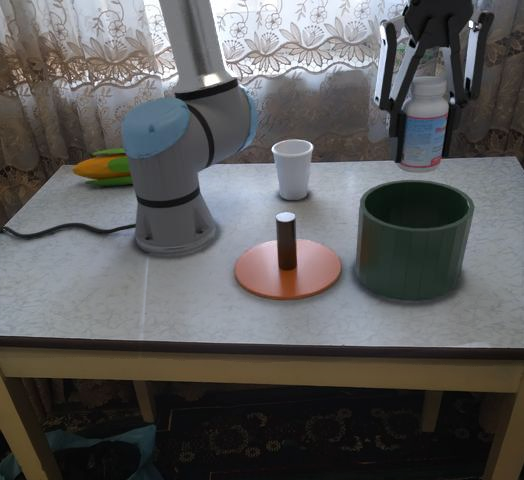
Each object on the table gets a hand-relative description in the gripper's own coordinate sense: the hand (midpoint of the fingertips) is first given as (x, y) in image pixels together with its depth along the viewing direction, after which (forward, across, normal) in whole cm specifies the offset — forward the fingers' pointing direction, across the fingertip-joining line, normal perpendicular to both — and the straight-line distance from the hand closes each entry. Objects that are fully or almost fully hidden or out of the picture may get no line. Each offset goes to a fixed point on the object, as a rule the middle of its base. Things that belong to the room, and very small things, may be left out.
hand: (418, 156), depth 74 cm
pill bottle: (+2, 0, 0) cm, 2 cm away
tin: (+19, 0, -1) cm, 19 cm away
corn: (+19, -51, +50) cm, 74 cm away
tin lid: (+19, -19, +4) cm, 27 cm away
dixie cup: (+20, -13, +33) cm, 41 cm away
